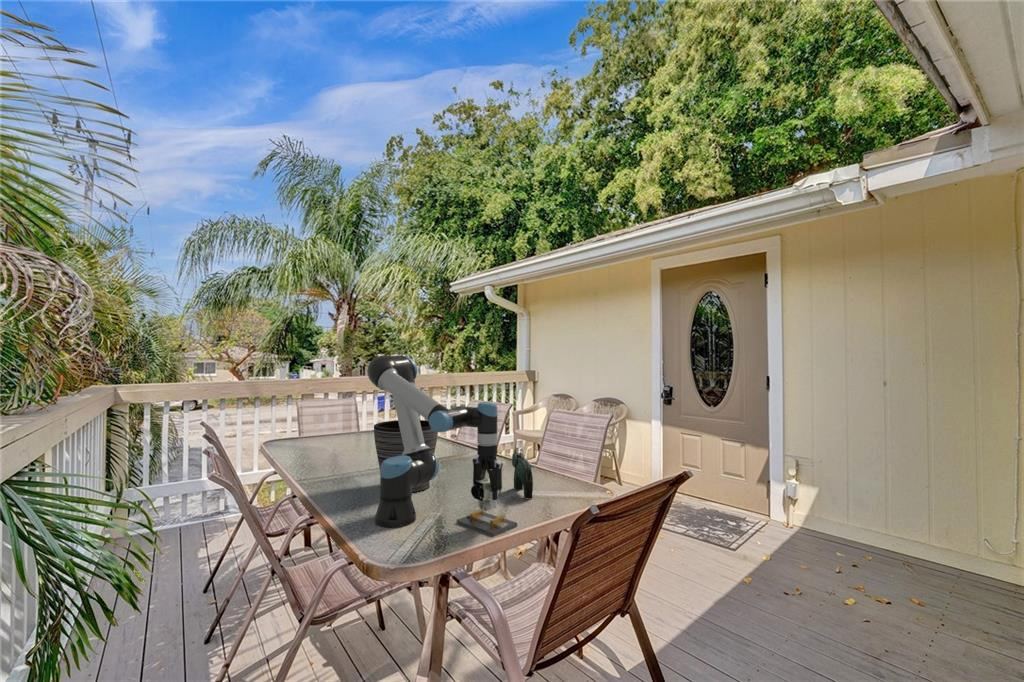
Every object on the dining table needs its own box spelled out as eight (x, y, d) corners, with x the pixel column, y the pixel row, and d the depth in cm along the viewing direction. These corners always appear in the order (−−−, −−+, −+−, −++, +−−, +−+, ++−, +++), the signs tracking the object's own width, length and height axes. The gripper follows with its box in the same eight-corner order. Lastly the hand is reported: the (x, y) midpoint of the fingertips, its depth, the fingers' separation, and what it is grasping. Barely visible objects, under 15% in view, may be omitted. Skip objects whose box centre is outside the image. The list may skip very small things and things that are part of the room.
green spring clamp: (510, 487, 221) (510, 445, 222) (523, 486, 223) (523, 444, 224) (523, 500, 202) (523, 454, 203) (537, 498, 204) (537, 453, 205)
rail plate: (493, 536, 162) (493, 526, 162) (456, 523, 174) (456, 513, 174) (517, 526, 171) (517, 516, 172) (480, 514, 184) (480, 505, 184)
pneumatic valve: (470, 511, 171) (470, 479, 171) (493, 504, 179) (494, 473, 179) (480, 515, 167) (480, 482, 167) (503, 508, 175) (504, 476, 175)
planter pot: (370, 499, 202) (371, 430, 203) (374, 480, 231) (375, 420, 232) (440, 494, 209) (440, 428, 210) (435, 477, 238) (436, 419, 239)
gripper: (512, 445, 170) (512, 509, 170) (477, 439, 182) (476, 499, 182) (498, 448, 165) (498, 514, 164) (463, 442, 177) (462, 503, 176)
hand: (487, 506), depth 173 cm, fingers closed on pneumatic valve, 5 cm apart
